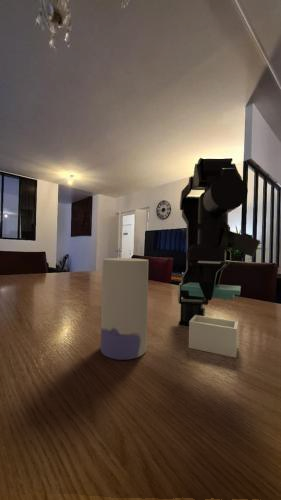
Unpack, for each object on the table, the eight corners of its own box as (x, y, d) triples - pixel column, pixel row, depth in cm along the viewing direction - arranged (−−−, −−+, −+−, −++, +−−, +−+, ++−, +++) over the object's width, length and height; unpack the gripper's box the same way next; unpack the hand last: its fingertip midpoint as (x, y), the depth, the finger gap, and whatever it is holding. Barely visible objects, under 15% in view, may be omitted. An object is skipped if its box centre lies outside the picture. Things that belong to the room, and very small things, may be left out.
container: (151, 344, 53) (153, 258, 53) (137, 364, 44) (139, 260, 44) (113, 337, 56) (115, 257, 56) (91, 355, 47) (94, 258, 47)
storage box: (188, 347, 52) (189, 321, 52) (194, 338, 57) (194, 314, 57) (236, 357, 47) (236, 329, 47) (237, 347, 53) (238, 321, 53)
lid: (181, 296, 45) (181, 285, 45) (189, 291, 51) (189, 282, 51) (239, 302, 40) (239, 290, 40) (240, 295, 47) (240, 286, 47)
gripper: (260, 208, 34) (258, 312, 34) (255, 224, 51) (254, 294, 51) (186, 212, 39) (184, 303, 38) (204, 225, 56) (203, 289, 55)
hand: (211, 296), depth 46 cm, fingers closed on lid, 7 cm apart
